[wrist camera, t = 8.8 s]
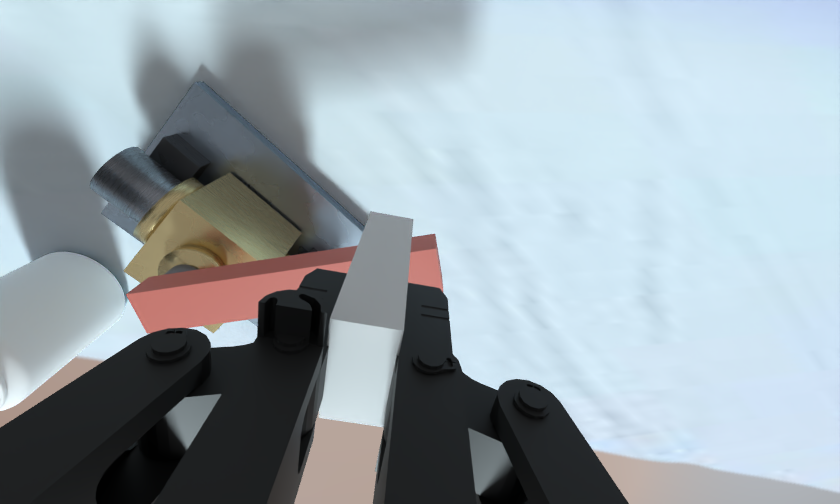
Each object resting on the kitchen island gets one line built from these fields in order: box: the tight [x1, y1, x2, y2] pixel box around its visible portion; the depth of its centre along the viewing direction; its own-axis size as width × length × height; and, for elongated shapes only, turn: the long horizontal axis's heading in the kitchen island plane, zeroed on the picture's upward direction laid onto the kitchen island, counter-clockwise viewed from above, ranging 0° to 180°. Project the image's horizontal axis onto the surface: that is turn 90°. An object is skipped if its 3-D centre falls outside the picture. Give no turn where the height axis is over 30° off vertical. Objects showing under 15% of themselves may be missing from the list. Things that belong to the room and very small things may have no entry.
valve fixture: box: [90, 82, 365, 333], centre depth 30 cm, size 18×14×10 cm
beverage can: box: [0, 252, 125, 411], centre depth 32 cm, size 8×8×12 cm
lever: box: [126, 234, 443, 333], centre depth 23 cm, size 17×3×4 cm, turn 100°
